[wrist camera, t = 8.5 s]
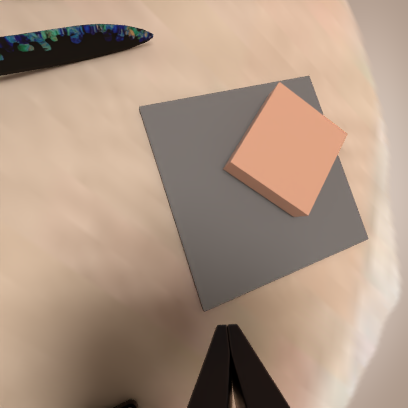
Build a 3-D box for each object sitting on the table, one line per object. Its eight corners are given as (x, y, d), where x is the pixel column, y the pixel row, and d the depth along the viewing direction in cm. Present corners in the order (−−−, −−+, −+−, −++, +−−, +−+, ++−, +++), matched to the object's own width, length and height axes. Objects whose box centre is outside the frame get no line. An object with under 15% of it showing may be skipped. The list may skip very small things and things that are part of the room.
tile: (308, 215, 18) (347, 133, 20) (230, 161, 17) (279, 81, 19) (292, 217, 20) (328, 143, 22) (222, 169, 19) (266, 96, 21)
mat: (363, 238, 22) (368, 238, 22) (203, 309, 18) (204, 311, 18) (306, 79, 23) (309, 75, 23) (139, 109, 19) (138, 106, 18)
